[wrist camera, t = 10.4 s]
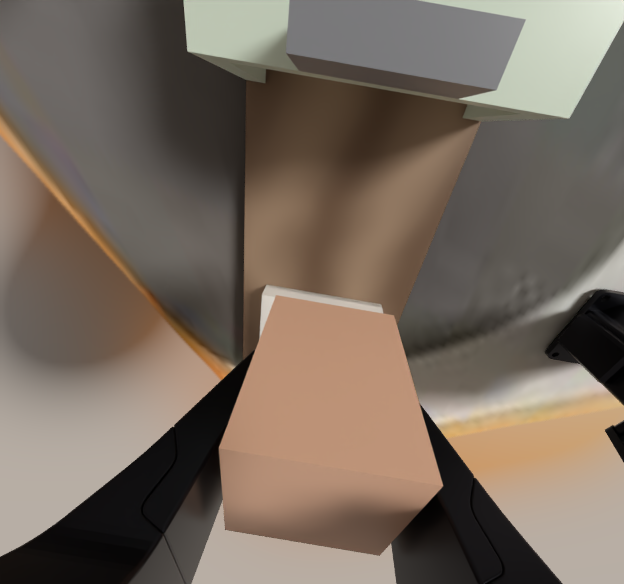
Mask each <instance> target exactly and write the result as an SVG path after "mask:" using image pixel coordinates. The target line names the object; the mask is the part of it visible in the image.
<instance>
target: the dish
mask: <svg viewBox="0 0 624 584" xmlns="http://www.w3.org/2000/svg"><path fill="white" fill-rule="evenodd" d="M276 295H278V296H284V297H290V298H296V299H302V300H307V301H313V302H319V303H325V304H331V305H336V306H342V307H348V308H354V309H360V310H366V311H371V312H377V313H383V309H382V305H381V304H376V303H370V302H364V301H359V300H353V299H347V298H341V297H335V296H330V295H324V294H318V293H312V292H307V291H301V290H295V289H289V288H284V287H278V286H272V285H266V287H265V289H264V291H263V293H262V302H261V320H260V337H261V334H262V331H263V329H264V326H265V323H266V321H267V318H268V315H269V313H270V310H271V307H272V305H273V302H274V299H275V296H276ZM259 339H260V338H259Z"/></svg>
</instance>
